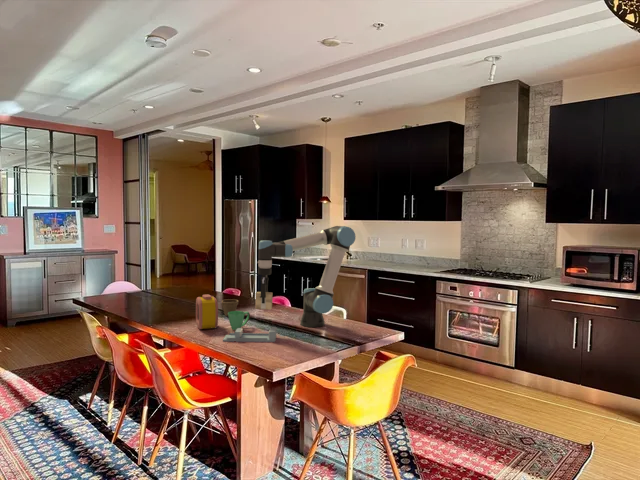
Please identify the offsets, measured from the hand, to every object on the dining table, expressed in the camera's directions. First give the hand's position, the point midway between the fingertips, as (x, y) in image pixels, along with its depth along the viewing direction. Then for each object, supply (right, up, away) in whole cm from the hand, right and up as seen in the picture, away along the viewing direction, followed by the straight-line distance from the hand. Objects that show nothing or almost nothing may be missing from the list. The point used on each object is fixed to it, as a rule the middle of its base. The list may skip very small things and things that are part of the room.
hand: (263, 307), depth 261 cm
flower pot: (-29, -13, +48) cm, 58 cm away
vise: (-6, -16, -11) cm, 20 cm away
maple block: (0, 0, 0) cm, 0 cm away
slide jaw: (-12, -14, -11) cm, 22 cm away
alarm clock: (-36, -14, +14) cm, 41 cm away
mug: (-16, -15, +13) cm, 25 cm away
